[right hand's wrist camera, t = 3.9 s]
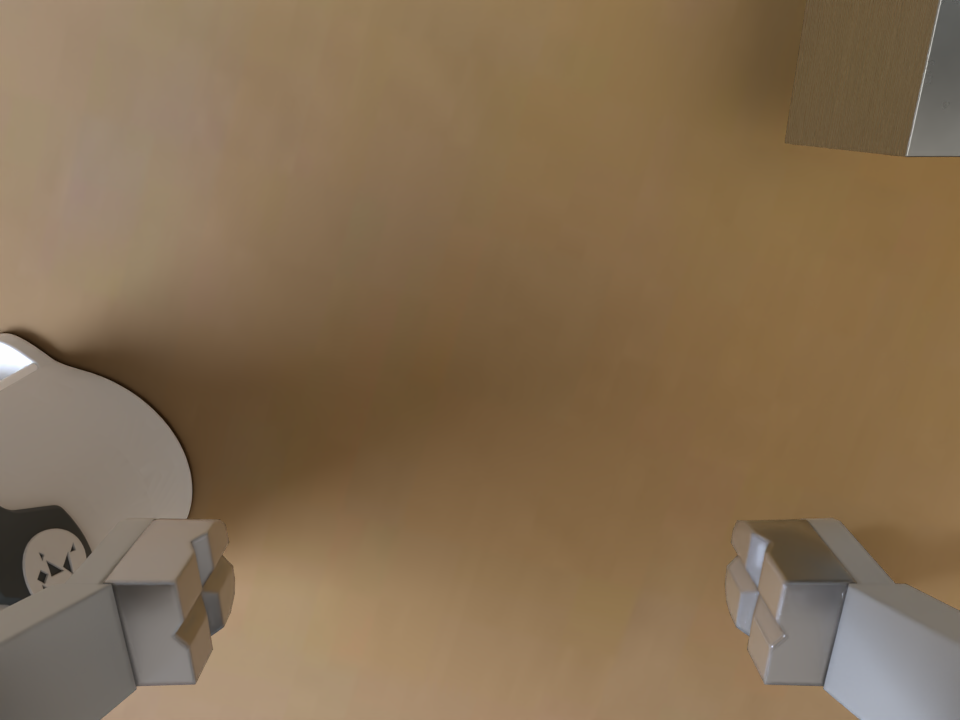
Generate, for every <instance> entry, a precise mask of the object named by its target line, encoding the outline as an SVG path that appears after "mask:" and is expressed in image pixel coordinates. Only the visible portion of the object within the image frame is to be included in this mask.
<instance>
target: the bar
mask: <svg viewBox="0 0 960 720" xmlns="http://www.w3.org/2000/svg"><path fill="white" fill-rule="evenodd" d="M785 143H786V144H795V145H804V146H813V147H822V148H831V149H840V150H849V151H858V152H867V153H876V154H885V155H894V156H902V157H960V0H807V2H806V8H805V15H804V21H803V28H802V34H801V41H800V47H799V53H798V60H797V66H796V73H795V79H794V86H793V92H792V99H791V105H790V112H789V118H788V124H787V131H786V137H785Z"/></svg>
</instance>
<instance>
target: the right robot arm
mask: <svg viewBox="0 0 960 720" xmlns="http://www.w3.org/2000/svg"><path fill="white" fill-rule="evenodd" d="M191 502H192V479H191V473H190V468H189V465H188V462H187V459H186V456H185V454H184V451H183V449H182V447H181V445H180V443H179V441H178V440H177V438H176V436H175V435H174V433H173V432H172V430H171V429H170V428H169V426H168V425H167V424H166V423H165V421H164V420H163V419H162V418H161V417H160V416H159V415H158V414H157V413H156V412H155V411H154V410H153V409H152V408H151V407H150V406H149V405H148V404H147V403H145V402H144V401H143V400H142V399H140V398H139V397H138V396H136V395H135V394H134V393H132V392H131V391H129V390H127V389H126V388H124V387H122V386H120V385H119V384H117V383H115V382H113V381H111V380H109V379H106V378H104V377H102V376H99V375H96V374H93V373H90V372H87V371H83V370H80V369H77V368H73V367H70V366H67V365H64V364H62V363H59V362H57V361H55V360H53V359H52V358H51V357H49V356H48V355H47V354H45V353H44V352H42V351H41V350H39V349H38V348H37V347H35V346H34V345H32V344H30V343H29V342H27V341H26V340H24V339H22V338H20V337H18V336H16V335H13V334H8V333H2V334H0V720H101V719H102V718H103V717H104V716H105V715H106V714H108V713H109V712H110V711H111V710H112V709H114V708H115V707H116V706H117V705H118V704H120V703H121V702H122V701H123V700H124V699H126V698H127V697H128V696H129V695H130V694H131V693H133V692H134V691H135V690H136V686H156V685H191V684H196V682H197V680H198V678H199V676H200V674H201V672H202V670H203V668H204V666H205V664H206V662H207V660H208V658H209V656H210V654H211V652H212V650H213V646H212V640H211V636H212V635H213V634H215V633H216V632H218V631H219V630H220V629H222V628H223V627H224V626H225V624H226V622H227V619H228V617H229V615H230V613H231V609H232V604H233V600H234V595H235V576H234V569H233V565H232V564H231V563H230V562H229V561H228V560H227V559H226V558H225V557H224V556H223V555H222V554H223V553H224V551H225V549H226V547H227V546H228V544H229V539H228V534H227V529H226V525H225V524H224V523H223V522H222V521H221V520H218V519H187V517H188V515H189V511H190V507H191ZM731 544H732V546H733V547H734V549H735V551H736V553H737V554H738V555H737V556H736V557H735V558H734V559H733V560H732V561H731V562H730V563H729V564H728V565H727V570H726V578H725V592H726V602H727V605H728V609H729V612H730V615H731V617H732V620H733V622H734V624H735V626H736V627H737V628H738V629H740V630H741V631H742V632H744V633H745V634H747V635H748V636H749V640H748V646H747V650H748V652H749V654H750V656H751V658H752V660H753V662H754V664H755V666H756V668H757V670H758V672H759V674H760V676H761V678H762V680H763V682H764V684H768V685H803V686H824V688H823V689H824V690H825V691H826V692H828V693H829V694H830V695H831V696H832V697H834V698H835V699H836V700H837V701H838V702H840V703H841V704H842V705H843V706H844V707H845V708H847V709H848V710H849V711H850V712H851V713H853V714H854V715H855V716H856V717H857V718H859V719H860V720H960V611H959V610H957V609H955V608H953V607H951V606H949V605H947V604H945V603H943V602H941V601H939V600H937V599H935V598H933V597H931V596H929V595H927V594H925V593H923V592H921V591H919V590H917V589H915V588H913V587H911V586H909V585H907V584H895V583H894V581H893V580H892V579H891V578H890V577H889V576H888V575H887V573H886V572H885V571H884V570H883V569H882V568H881V567H880V566H879V564H878V563H877V562H876V561H875V560H874V559H873V558H872V556H871V555H870V554H869V553H868V552H867V551H866V550H865V549H864V547H863V546H862V545H861V544H860V543H859V542H858V541H857V540H856V538H855V537H854V536H853V535H852V534H851V533H850V532H849V530H848V529H847V528H846V527H845V526H844V525H843V524H842V523H841V522H840V521H839V520H836V519H834V518H809V519H793V520H737V522H736V524H735V526H734V528H733V533H732V538H731Z"/></svg>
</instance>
